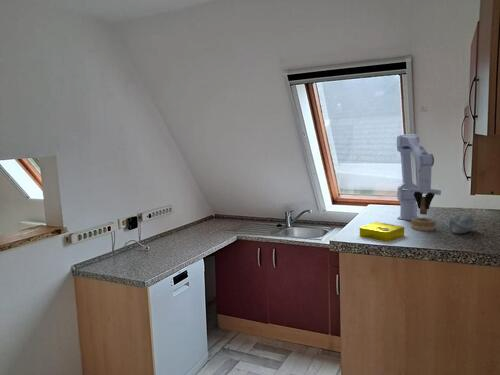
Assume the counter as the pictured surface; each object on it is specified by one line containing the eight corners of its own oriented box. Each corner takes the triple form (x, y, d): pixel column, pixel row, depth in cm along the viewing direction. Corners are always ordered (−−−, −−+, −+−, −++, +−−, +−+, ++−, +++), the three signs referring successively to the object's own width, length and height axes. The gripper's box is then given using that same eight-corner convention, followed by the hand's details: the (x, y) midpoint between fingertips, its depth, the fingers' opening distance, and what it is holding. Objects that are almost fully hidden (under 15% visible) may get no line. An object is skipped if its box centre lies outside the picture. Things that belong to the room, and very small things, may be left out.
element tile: (406, 236, 183) (406, 225, 183) (388, 242, 174) (388, 231, 173) (376, 230, 195) (376, 220, 194) (357, 236, 185) (357, 226, 184)
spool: (454, 220, 196) (463, 204, 190) (473, 231, 191) (483, 215, 184) (440, 231, 188) (448, 215, 182) (459, 244, 183) (469, 227, 177)
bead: (416, 224, 202) (416, 216, 202) (437, 227, 196) (437, 219, 195) (408, 228, 195) (408, 220, 195) (429, 231, 188) (430, 223, 188)
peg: (421, 212, 196) (421, 196, 195) (427, 213, 194) (428, 196, 193) (418, 213, 194) (419, 197, 193) (425, 214, 192) (425, 197, 191)
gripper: (405, 179, 194) (404, 208, 196) (437, 181, 184) (436, 211, 186) (411, 178, 199) (410, 206, 201) (443, 180, 190) (441, 209, 191)
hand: (423, 208), depth 194 cm, fingers closed on peg, 3 cm apart
